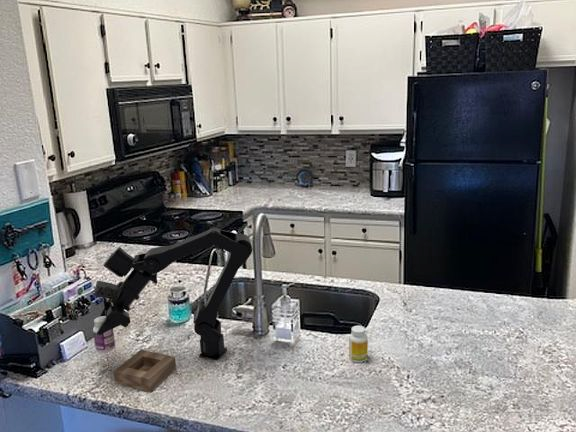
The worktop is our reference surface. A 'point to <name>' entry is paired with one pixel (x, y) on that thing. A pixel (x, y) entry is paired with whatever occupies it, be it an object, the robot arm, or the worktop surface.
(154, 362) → the socket block
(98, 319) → the pill bottle
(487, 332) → the worktop surface
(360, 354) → the supplement bottle
